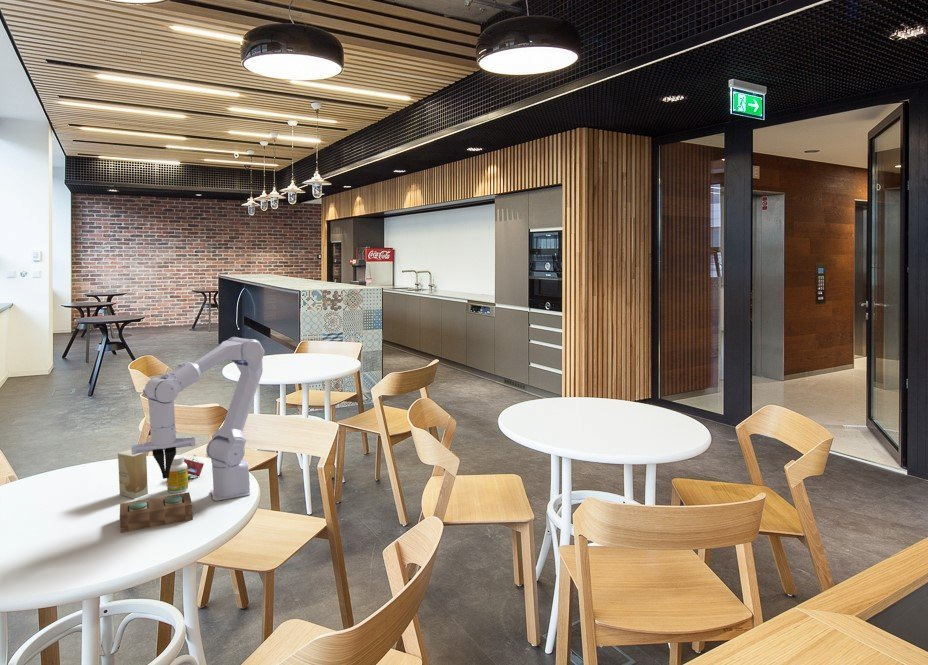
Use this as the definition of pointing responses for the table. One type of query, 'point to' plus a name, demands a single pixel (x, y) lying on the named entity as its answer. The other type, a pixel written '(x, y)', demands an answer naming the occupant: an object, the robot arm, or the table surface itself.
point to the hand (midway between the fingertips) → (165, 477)
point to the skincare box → (132, 474)
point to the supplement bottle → (178, 475)
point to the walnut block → (155, 513)
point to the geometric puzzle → (193, 467)
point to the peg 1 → (137, 506)
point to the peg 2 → (173, 500)
